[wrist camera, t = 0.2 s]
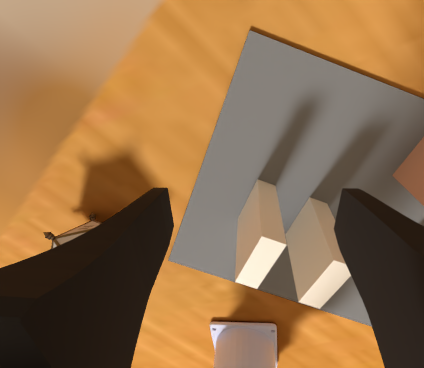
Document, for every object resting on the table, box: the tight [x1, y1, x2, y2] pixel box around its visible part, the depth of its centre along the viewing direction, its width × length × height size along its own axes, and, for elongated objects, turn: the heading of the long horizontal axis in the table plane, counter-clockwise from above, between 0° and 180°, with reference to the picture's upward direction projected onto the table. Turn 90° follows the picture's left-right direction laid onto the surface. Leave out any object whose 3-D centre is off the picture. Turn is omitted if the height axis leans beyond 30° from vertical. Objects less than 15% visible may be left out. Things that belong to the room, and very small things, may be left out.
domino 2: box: [285, 197, 351, 309], centre depth 20 cm, size 2×4×7 cm, turn 161°
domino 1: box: [235, 179, 287, 289], centre depth 20 cm, size 2×4×7 cm, turn 162°
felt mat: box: [168, 30, 424, 326], centre depth 23 cm, size 26×22×1 cm
